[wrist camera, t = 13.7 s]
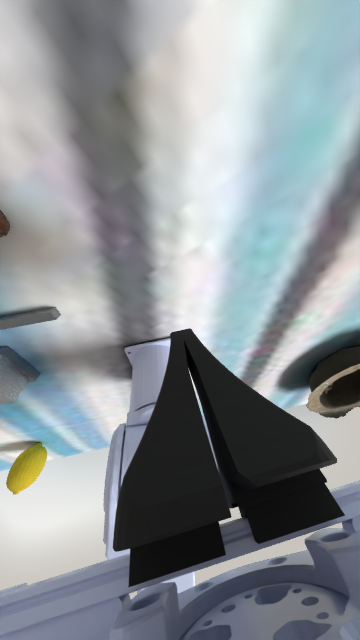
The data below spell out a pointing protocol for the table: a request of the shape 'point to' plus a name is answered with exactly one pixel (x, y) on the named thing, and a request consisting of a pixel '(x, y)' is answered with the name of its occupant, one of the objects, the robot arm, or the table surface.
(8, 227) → the bolt
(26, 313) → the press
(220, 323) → the table surface
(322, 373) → the stone bowl
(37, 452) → the lemon
